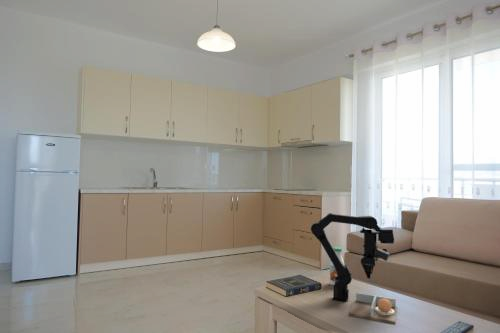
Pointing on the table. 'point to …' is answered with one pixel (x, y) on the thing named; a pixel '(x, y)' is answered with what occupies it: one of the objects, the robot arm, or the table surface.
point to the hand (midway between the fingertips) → (369, 275)
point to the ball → (384, 305)
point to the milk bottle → (332, 269)
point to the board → (373, 308)
